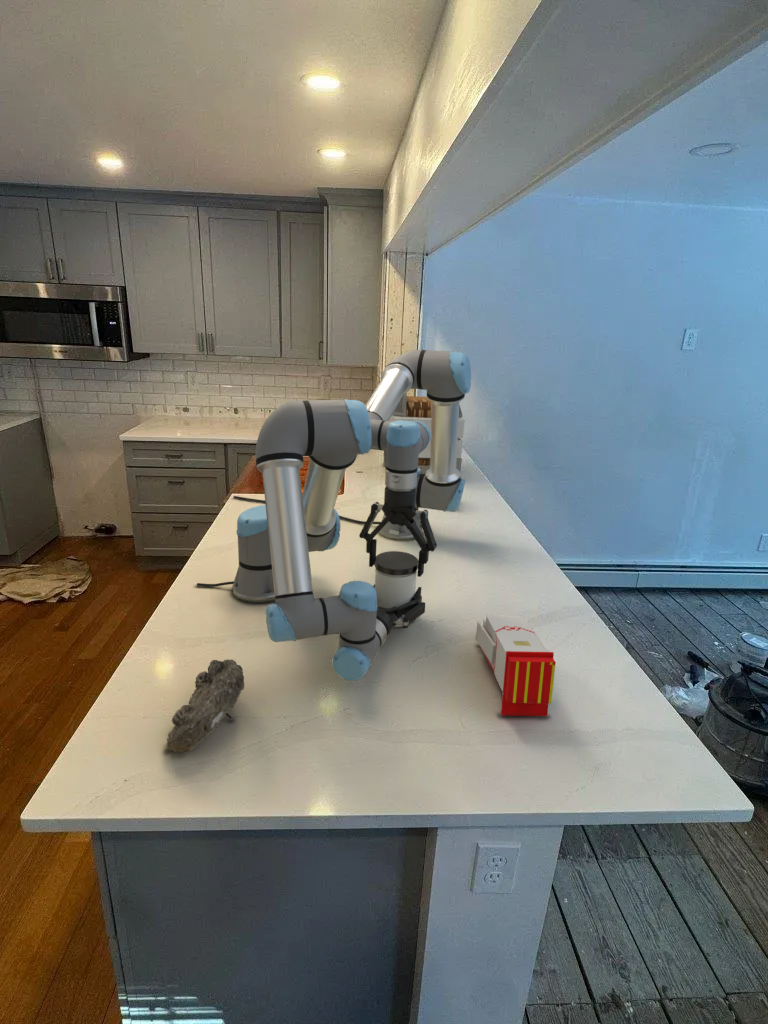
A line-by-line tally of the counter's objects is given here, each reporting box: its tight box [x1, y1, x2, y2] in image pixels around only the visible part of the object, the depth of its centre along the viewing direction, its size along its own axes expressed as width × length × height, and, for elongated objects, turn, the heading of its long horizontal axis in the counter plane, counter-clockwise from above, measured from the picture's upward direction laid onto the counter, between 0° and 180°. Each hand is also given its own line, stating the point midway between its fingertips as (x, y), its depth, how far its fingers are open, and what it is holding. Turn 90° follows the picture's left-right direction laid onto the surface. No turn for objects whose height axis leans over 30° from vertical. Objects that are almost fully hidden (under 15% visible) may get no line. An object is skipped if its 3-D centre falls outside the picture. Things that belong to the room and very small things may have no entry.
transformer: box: [383, 392, 465, 475], centre depth 268 cm, size 34×33×41 cm
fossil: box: [166, 658, 245, 754], centre depth 106 cm, size 22×10×15 cm
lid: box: [373, 550, 419, 575], centre depth 141 cm, size 11×11×2 cm
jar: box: [374, 568, 418, 628], centre depth 144 cm, size 10×10×15 cm
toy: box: [475, 615, 557, 717], centre depth 123 cm, size 12×13×30 cm
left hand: (399, 587), depth 148 cm, fingers closed on jar, 10 cm apart
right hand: (396, 569), depth 142 cm, fingers open, 12 cm apart
